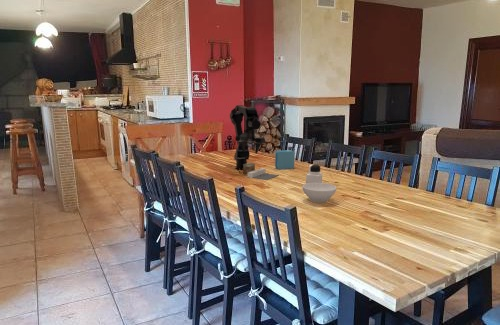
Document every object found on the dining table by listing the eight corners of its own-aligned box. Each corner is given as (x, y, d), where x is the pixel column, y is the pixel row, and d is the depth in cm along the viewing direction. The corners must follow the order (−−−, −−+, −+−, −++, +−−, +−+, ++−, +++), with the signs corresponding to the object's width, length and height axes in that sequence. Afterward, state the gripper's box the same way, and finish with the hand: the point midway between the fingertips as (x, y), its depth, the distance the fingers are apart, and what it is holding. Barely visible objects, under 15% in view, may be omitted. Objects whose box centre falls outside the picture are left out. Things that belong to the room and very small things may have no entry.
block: (243, 173, 239) (243, 164, 238) (249, 171, 245) (249, 162, 244) (248, 174, 237) (248, 165, 236) (254, 172, 243) (254, 163, 242)
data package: (291, 167, 259) (292, 150, 257) (294, 168, 255) (294, 151, 253) (275, 168, 256) (275, 150, 253) (277, 169, 251) (277, 151, 249)
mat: (252, 177, 228) (252, 177, 228) (264, 173, 240) (264, 173, 240) (267, 180, 223) (267, 179, 223) (278, 175, 234) (278, 175, 234)
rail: (247, 177, 229) (247, 172, 228) (261, 172, 242) (261, 168, 241) (251, 178, 227) (251, 173, 227) (265, 173, 240) (265, 168, 240)
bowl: (315, 207, 171) (315, 192, 169) (295, 198, 185) (295, 184, 183) (343, 203, 178) (343, 188, 177) (321, 194, 192) (322, 181, 191)
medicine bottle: (322, 185, 210) (322, 164, 207) (318, 188, 203) (319, 166, 201) (309, 184, 213) (310, 163, 210) (305, 187, 206) (306, 165, 204)
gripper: (230, 128, 234) (230, 153, 237) (256, 130, 224) (256, 156, 227) (240, 126, 243) (240, 150, 246) (265, 128, 233) (265, 153, 237)
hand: (249, 152), depth 239 cm, fingers open, 9 cm apart
